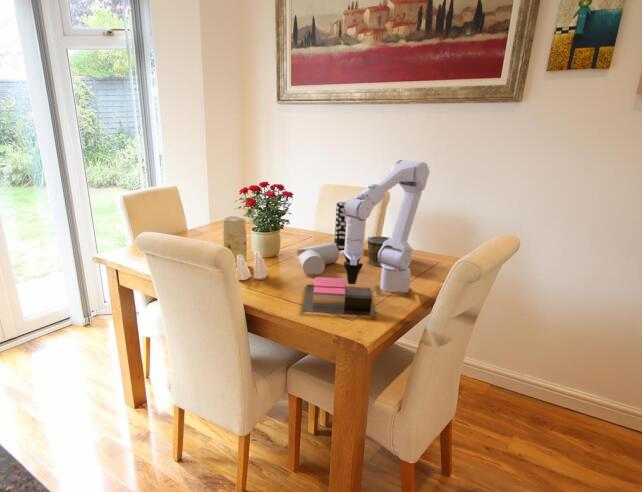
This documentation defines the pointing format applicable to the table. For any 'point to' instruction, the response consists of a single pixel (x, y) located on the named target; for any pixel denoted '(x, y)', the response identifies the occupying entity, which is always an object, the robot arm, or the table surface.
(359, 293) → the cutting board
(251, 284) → the table surface
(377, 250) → the ceramic cup
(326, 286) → the cake
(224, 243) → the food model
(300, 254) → the bent grey cylinder
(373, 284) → the table surface
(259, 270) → the shaker set
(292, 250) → the table surface
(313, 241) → the table surface
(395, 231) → the robot arm
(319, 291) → the cake slice
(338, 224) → the spotted tube
